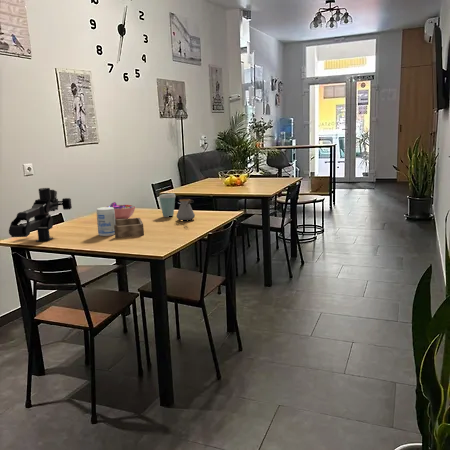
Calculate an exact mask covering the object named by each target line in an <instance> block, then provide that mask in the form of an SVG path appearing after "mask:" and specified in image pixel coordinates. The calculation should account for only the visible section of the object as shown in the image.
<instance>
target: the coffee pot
mask: <svg viewBox="0 0 450 450" xmlns="http://www.w3.org/2000/svg"><path fill="white" fill-rule="evenodd" d="M178 201H179V202H180V204H179V208H178V210H177V213H176V219H178V220H179V221H180V220H191V219H192V220H193V219H194V218H195V215H196V214H195V212H194V210H193V208H192V205H191V204H192V203H194V200H193V199H190V198H181V199H179V200H178ZM192 220H191V221H192Z"/></svg>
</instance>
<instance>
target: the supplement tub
mask: <svg viewBox="0 0 450 450" xmlns="http://www.w3.org/2000/svg"><path fill="white" fill-rule="evenodd" d="M96 224H97V235H98V236H100V237H110V236H115V230H114V225H115V211H114V208H113V207H107V206H103V207H97V208H96Z"/></svg>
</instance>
